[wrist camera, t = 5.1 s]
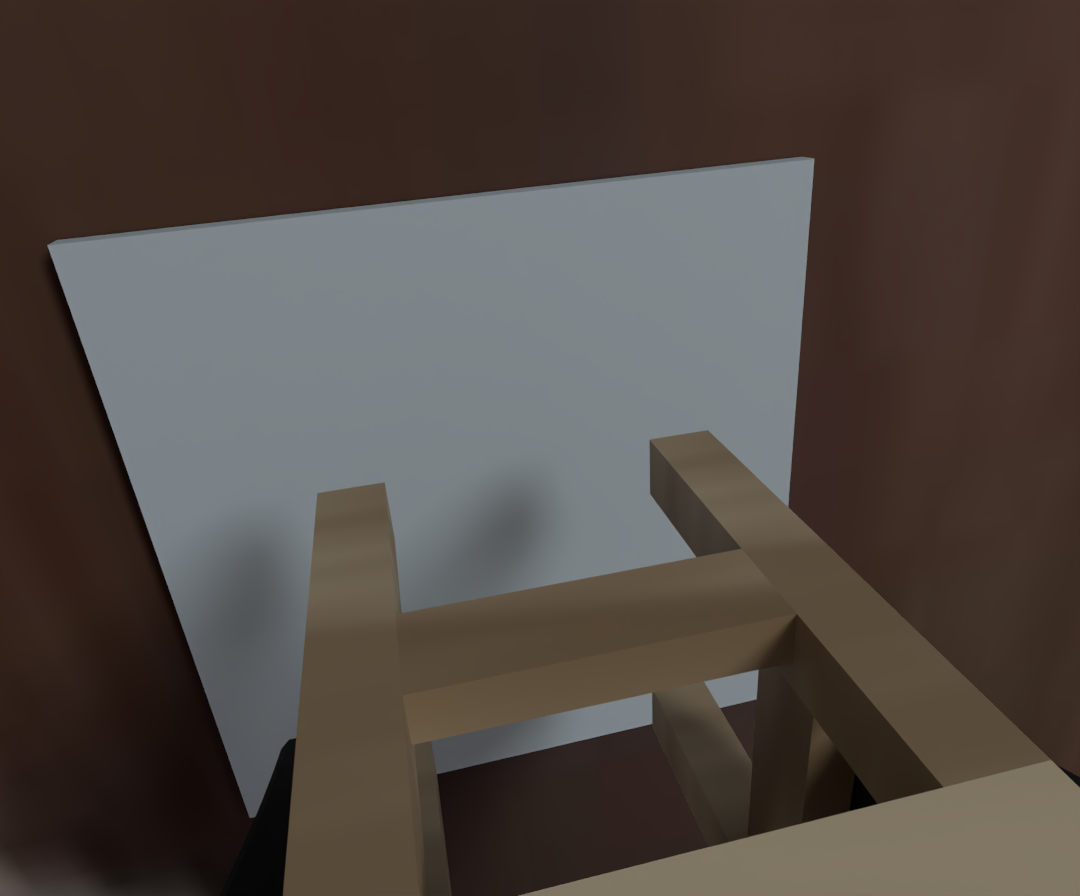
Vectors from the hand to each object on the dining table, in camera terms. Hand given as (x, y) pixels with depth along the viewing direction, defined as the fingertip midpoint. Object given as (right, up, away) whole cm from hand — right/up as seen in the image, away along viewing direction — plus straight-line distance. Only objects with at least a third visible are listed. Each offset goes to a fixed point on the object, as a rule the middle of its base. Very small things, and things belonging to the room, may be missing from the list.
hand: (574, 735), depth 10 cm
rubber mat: (-1, +2, +5) cm, 6 cm away
